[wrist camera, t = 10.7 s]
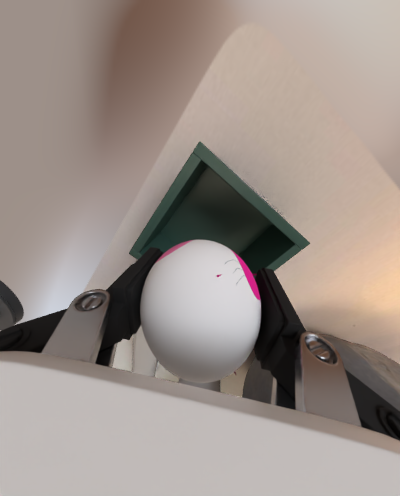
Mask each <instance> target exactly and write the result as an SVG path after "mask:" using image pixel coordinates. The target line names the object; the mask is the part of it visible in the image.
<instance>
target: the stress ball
mask: <svg viewBox="0 0 400 496" xmlns="http://www.w3.org/2000/svg"><path fill="white" fill-rule="evenodd" d="M253 275H256V274H252V273H251V271H250V270H249V268H248V267H247V265H246V264H245V263H244V261H243V260H242V259H241V258H240V257H239V256H238V255H237V254H236V253H235V252H233V251H232V250H231V249H229V248H228V247H226V246H224V245H222V244H219V243H217V242H214V241H209V240H190V241H186V242H183V243H180V244H178V245H176V246H174V247H172V248H171V249H169V250H168V251H166V252H165V253H164V254H163V255H162V256H161V257H160V258H159V259H158V260H157V261H156V263H155V264H154V265H153V267H152V268H151V270H150V272H149V274H148V276H147V278H146V281H145V283H144V287H143V290H142V295H141V303H140V316H141V325H142V329H143V333H144V336H145V339H146V342H147V344H148V346H149V348H150V350H151V352H152V353H153V355H154V356H155V358H156V359H157V360H158V361H159V363H160V364H161V365H162V366H163V367H164V368H165V369H167V370H168V371H169V372H171V373H172V374H173V375H175V376H177V377H179V378H181V379H184V380H187V381H190V382H196V383H208V382H213V381H217V380H220V379H223V378H225V377H227V376H228V375H230V374H231V373H233V372H234V373H235V371H236V370H237V369H238V368H239V367H240V366H241V365H242V364H243V363H244V362H245V361H246V359H247V358H248V356H249V355H250V353H251V352H252V350H253V348H254V346H255V343H256V340H257V338H258V334H259V330H260V325H261V300H260V295H259V291H258V287H257V284H256V282H255V279H254V277H253ZM235 374H236V373H235Z"/></svg>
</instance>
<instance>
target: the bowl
mask: <svg viewBox="0 0 400 496" xmlns="http://www.w3.org/2000/svg"><path fill="white" fill-rule="evenodd" d="M318 335H320V336H321V337H323V338H325V339H326V340H327V341H329V342H330V343H331V344H332V345H333V346H334V347H335V348H336V350H337V351H338V352H339V354H340V356H341V358H342V361H343V365H344V368H345V369H346V370H347V371H348V372H350V373H351V374H352V375H354V376H355V377H356V378H358V379H359V380H360V381H361V382H363V383H364V384H365V385H367V386H368V387H369V388H370V389H372V390H373V391H374V392H376V393H377V394H378V395H380V396H381V397H382V398H383V399H385V400H386V401H387V402H389V403H390V404H391V405H392V406H394V407H395V408H396V409H398V410H399V411H400V364H398V363H396V362H395V361H393V360H391V359H390V358H388V357H386V356H384V355H383V354H381V353H379V352H377V351H375V350H373V349H371V348H368V347H366V346H363V345H360V344H355V343H351V342H348V341H345V340H342V339H338V338H335V337H332V336H329V335H324V334H318ZM272 386H273V376H272V375H271V372H270V371H268V370H264V369H261V364H260V361H258V360H257V359H256V356H255V358H254V360H253V362H252V364H251V366H250V368H249V370H248V373H247V375H246V378H245V382H244V388H243V397H242V398H246V399H250V400H255V401H259V402H263V403H267V404H271V396H272Z"/></svg>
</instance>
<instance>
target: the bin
mask: <svg viewBox="0 0 400 496" xmlns="http://www.w3.org/2000/svg"><path fill="white" fill-rule="evenodd" d="M190 240H209V241H214V242H217V243H219V244H222V245H224V246H226V247H228V248H229V249H231V250H232V251H233V252H235V253H236V254H237V255H238V256H239V257H240V258H241V259H242V260H243V261H244V263H245V264H246V265H247V267H248V268H249V270H250V271H251V273H252V274H257V272H258V270H259V269H262V268H268V269H272V270H273V271H275V270H276V269H277V268H279V267H280V266H281V265H282V264H284V263H285V262H286V261H288V260H289V259H290V258H292V257H293V256H294V255H296V254H297V253H298V252H300V251H301V249H304V248H305V247H306V246H308V245H309V244H310V243H309V242H308V241H307V240H306V239H305V238H304V237H303V236H302V235H301V234H300V233H299V232H298V231H296V230H295V229H294V228H293V227H292V226H291V225H290V224H289V223H288V222H287V221H286V220H285V219H283V218H282V217H281V216H280V215H279V214H278V213H277V212H276V211H275V210H274V209H273V208H272V207H270V206H269V205H268V204H267V203H266V202H265V201H264V200H263V199H262V198H261V197H260V196H259V195H257V194H256V193H255V192H254V191H253V190H252V189H251V188H250V187H249V186H248V185H247V184H246V183H244V182H243V181H242V180H241V179H240V178H239V177H238V176H237V175H236V174H235V173H234V172H233V171H232V170H230V169H229V168H228V167H227V166H226V165H225V164H224V163H223V162H222V161H221V160H220V159H219V158H217V157H216V156H215V155H214V154H213V153H212V152H211V151H210V150H209V149H208V148H207V147H206V146H204V145H203V144H202V143H201V142H199V143H198V144H197V146H196V148H195V149H194V151H193V153H192V154H191V155H190V157H189V159H188V160H187V162H186V163H185V165H184V167H183V168H182V170H181V171H180V173H179V174H178V176H177V178H176V179H175V181H174V182H173V184H172V185H171V187H170V189H169V190H168V192H167V193H166V195H165V197H164V198H163V200H162V201H161V203H160V204H159V206H158V208H157V209H156V211H155V212H154V214H153V216H152V217H151V219H150V220H149V222H148V223H147V225H146V227H145V228H144V230H143V231H142V233H141V235H140V236H139V238H138V239H137V241H136V242H135V244H134V246H133V247H132V249H131V251H130V252H129V254H130V255H132V256H133V257H135V258H136V259H137V260H138V259H139V258H140V257H141V256H142V255H143V254H144V253H145V252H146V251H147V250H148V249H149V248H150V247H154V248H160V251H162V252H163V254H164V253H165V252H166V251H168V250H169V249H171V248H172V247H174V246H176V245H178V244H180V243H183V242H186V241H190ZM253 277H254V279H255V277H256V275H253Z"/></svg>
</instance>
